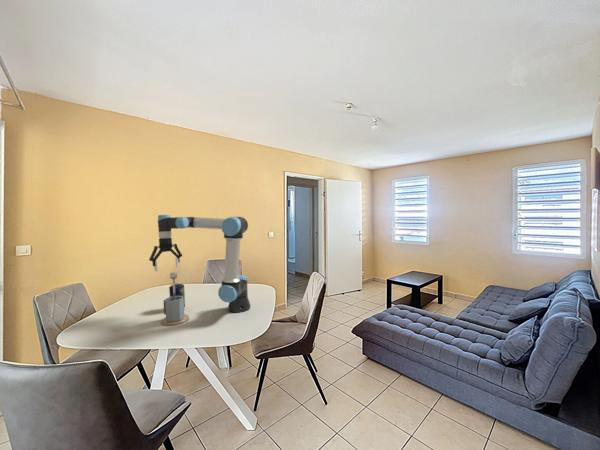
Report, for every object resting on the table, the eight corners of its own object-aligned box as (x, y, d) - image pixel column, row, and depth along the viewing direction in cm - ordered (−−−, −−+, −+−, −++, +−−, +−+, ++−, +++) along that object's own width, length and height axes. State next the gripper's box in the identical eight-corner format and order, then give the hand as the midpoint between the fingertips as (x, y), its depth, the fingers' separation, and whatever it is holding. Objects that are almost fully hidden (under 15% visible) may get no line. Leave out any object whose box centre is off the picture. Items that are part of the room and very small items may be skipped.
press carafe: (194, 316, 163) (193, 295, 163) (177, 326, 148) (176, 303, 147) (173, 314, 167) (172, 293, 166) (154, 324, 151) (153, 302, 151)
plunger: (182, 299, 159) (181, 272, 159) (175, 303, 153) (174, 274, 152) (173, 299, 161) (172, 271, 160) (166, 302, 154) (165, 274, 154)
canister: (179, 312, 171) (178, 286, 170) (166, 311, 173) (165, 285, 172) (188, 306, 180) (187, 282, 180) (176, 306, 182) (175, 281, 181)
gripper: (181, 236, 179) (183, 265, 180) (142, 239, 160) (144, 272, 161) (186, 236, 174) (187, 266, 175) (146, 239, 155) (148, 273, 156)
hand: (167, 269), depth 168 cm, fingers open, 13 cm apart
